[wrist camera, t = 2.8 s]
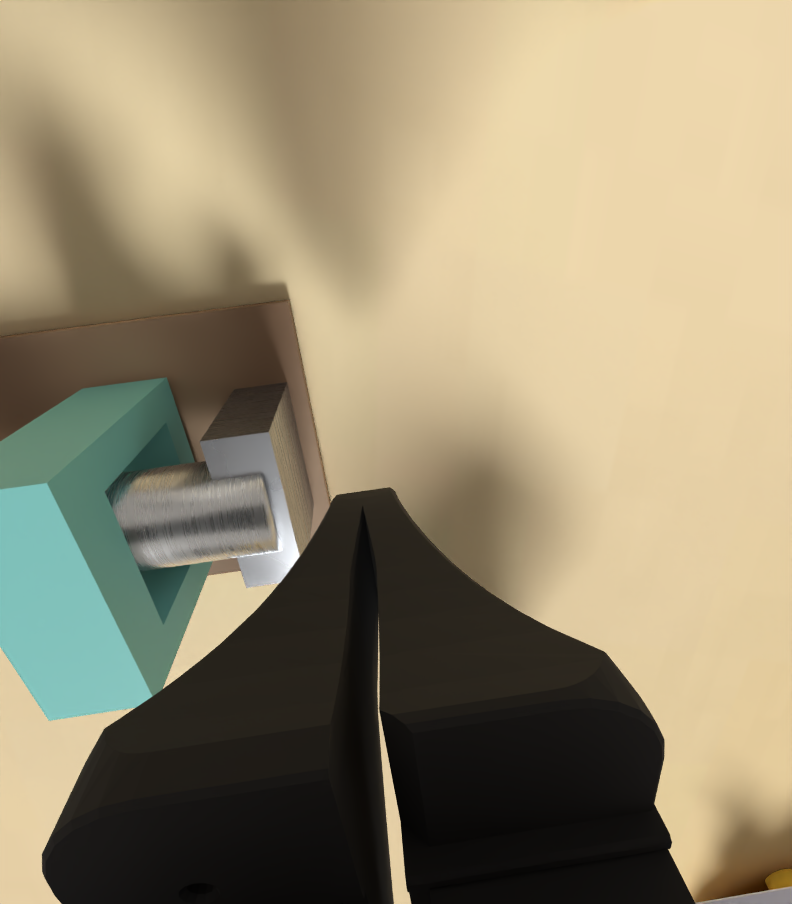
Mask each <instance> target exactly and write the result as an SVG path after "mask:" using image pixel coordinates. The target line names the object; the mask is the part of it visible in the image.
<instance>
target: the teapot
mask: <svg viewBox="0 0 792 904" xmlns="http://www.w3.org/2000/svg"><path fill="white" fill-rule="evenodd" d="M765 883H766V885H767V886H768V888H769V890H773V889H779V888H785V887H791V886H792V869H782V870H779V871H776V872H774V873H772V874H770V875H769V876H768V877H767V878H766V880H765Z"/></svg>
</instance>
